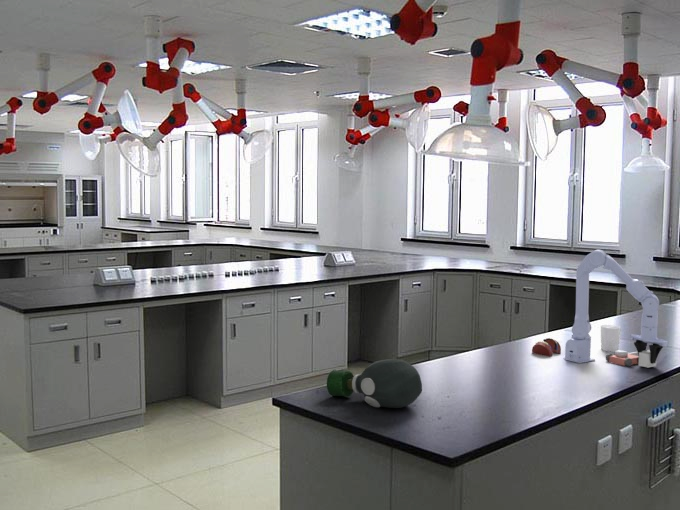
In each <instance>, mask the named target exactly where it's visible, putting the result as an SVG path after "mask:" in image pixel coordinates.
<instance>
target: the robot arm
mask: <svg viewBox="0 0 680 510" xmlns="http://www.w3.org/2000/svg"><path fill="white" fill-rule="evenodd" d="M602 266H603V267H602ZM601 267H602V269H604V270H610V271H611V272H612V273H613V274H614V275H615V276H617V278H619V279H620V280H621V281H622V282H623V283H624V284H625V285H626V286H625V289H626V291H627V292H628V293H629V294H631V296H632V297H633V298H634V299H635V300H636V301H637V302H639V303H641V307H642V314H641V320H640V321H641V323H640V335H638V334H633V333H632V334H630V337H629V340H630V341H634V342H633V344H634V347H635V349H636V352H638V355H639V352H642V351H644V350H647V346H648V349H649V350H650V363H652V364H653V363H655V362H656V363H657V359H658V356H659V354H660V352H661V351H662V349H663V348H666V347H668V344H669V341H668V340H664V339H661V338H658V326H659V307H660V300H659V298H658V297H657V294H655V293H654V291H653V290H649V289H648V287H646V285H644V284H645V282H644V281H643V280H639V279H636V278H632V277H631V275H630V274H629V273H628V272H627V271H626V270H625V269H624V268H623V267H622V266H621V265H620V264H619V263H618V262H617V261H616V260H615V259H614V258H613V257H612V256H611V255H609V254H607V253H606V252H605V250H602V249H595V250H593V251H592V252H590V253H588V254H587V255H585V257H584V258H583V260H582V261H581V262H580V264H579V265H578V266H577V267H576V275H575V277H576V279H575V283H576V284H575V316H574V322H573V325H572V327H571V333H572V334H571V337H570V338H569V339H568V340H566V342H565V349H564V350H565V352H564V357H563V359H562V360H565V361H569V362H570V361H571V362H573V363H577V364H581V363H588V362H594V361H596V359H595V358H592V357H591V347H592V346H591V345H592V344H591V343H592V336H590V332H591V330H592V324H591V322H590V316H589V305H590V304H589V302H590V301H589V299H590V295H589V294H590V273H592V272H593V271H594V270H595V269H598V268H601ZM648 344H649V345H648Z"/></svg>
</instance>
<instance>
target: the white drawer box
mask: <svg viewBox="0 0 680 510" xmlns="http://www.w3.org/2000/svg"><path fill="white" fill-rule="evenodd" d="M638 366H640V367H644V368H652V367H653V368H654V367H657V361H656V362H655V363H653V364H652V363H650V349H646V350H644V351H642V352H639V363H638Z"/></svg>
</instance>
